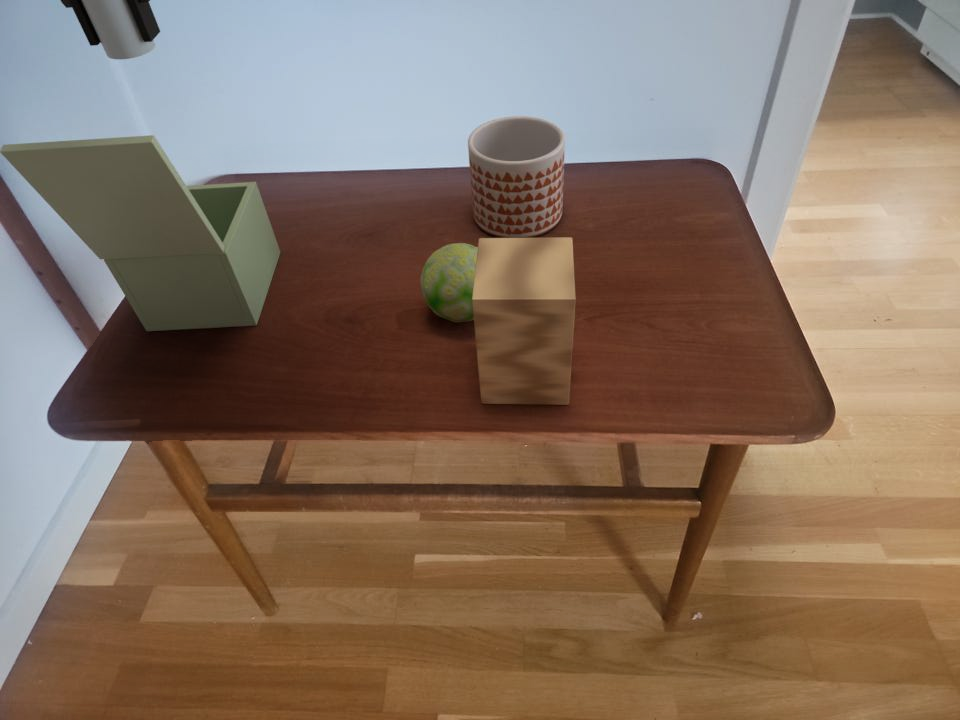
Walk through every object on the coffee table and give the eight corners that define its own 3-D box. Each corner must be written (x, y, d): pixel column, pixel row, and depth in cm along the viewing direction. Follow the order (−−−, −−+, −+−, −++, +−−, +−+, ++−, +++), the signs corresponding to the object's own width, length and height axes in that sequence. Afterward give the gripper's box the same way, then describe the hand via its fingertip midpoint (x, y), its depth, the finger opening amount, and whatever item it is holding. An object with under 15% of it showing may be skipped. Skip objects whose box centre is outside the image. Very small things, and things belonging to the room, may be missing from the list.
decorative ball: (416, 333, 83) (405, 272, 76) (437, 284, 90) (429, 223, 82) (491, 343, 81) (487, 281, 74) (507, 291, 88) (505, 230, 80)
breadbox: (182, 257, 97) (148, 188, 89) (280, 252, 97) (255, 181, 88) (146, 331, 86) (103, 260, 78) (256, 325, 86) (225, 253, 77)
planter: (579, 223, 97) (584, 145, 88) (498, 251, 94) (495, 173, 85) (534, 181, 106) (534, 106, 97) (459, 206, 102) (451, 130, 93)
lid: (2, 144, 63) (-1, 151, 62) (154, 134, 62) (152, 142, 62) (102, 252, 77) (99, 259, 77) (224, 246, 77) (223, 252, 76)
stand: (481, 403, 74) (471, 299, 63) (486, 342, 81) (478, 237, 70) (568, 405, 73) (575, 299, 62) (566, 342, 80) (572, 236, 69)
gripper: (118, -296, 51) (222, 19, 68) (-100, -278, 52) (56, 30, 69) (79, -293, 46) (201, 47, 63) (-163, -273, 46) (22, 59, 63)
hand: (125, 38), depth 66 cm, fingers closed on bottle, 5 cm apart
